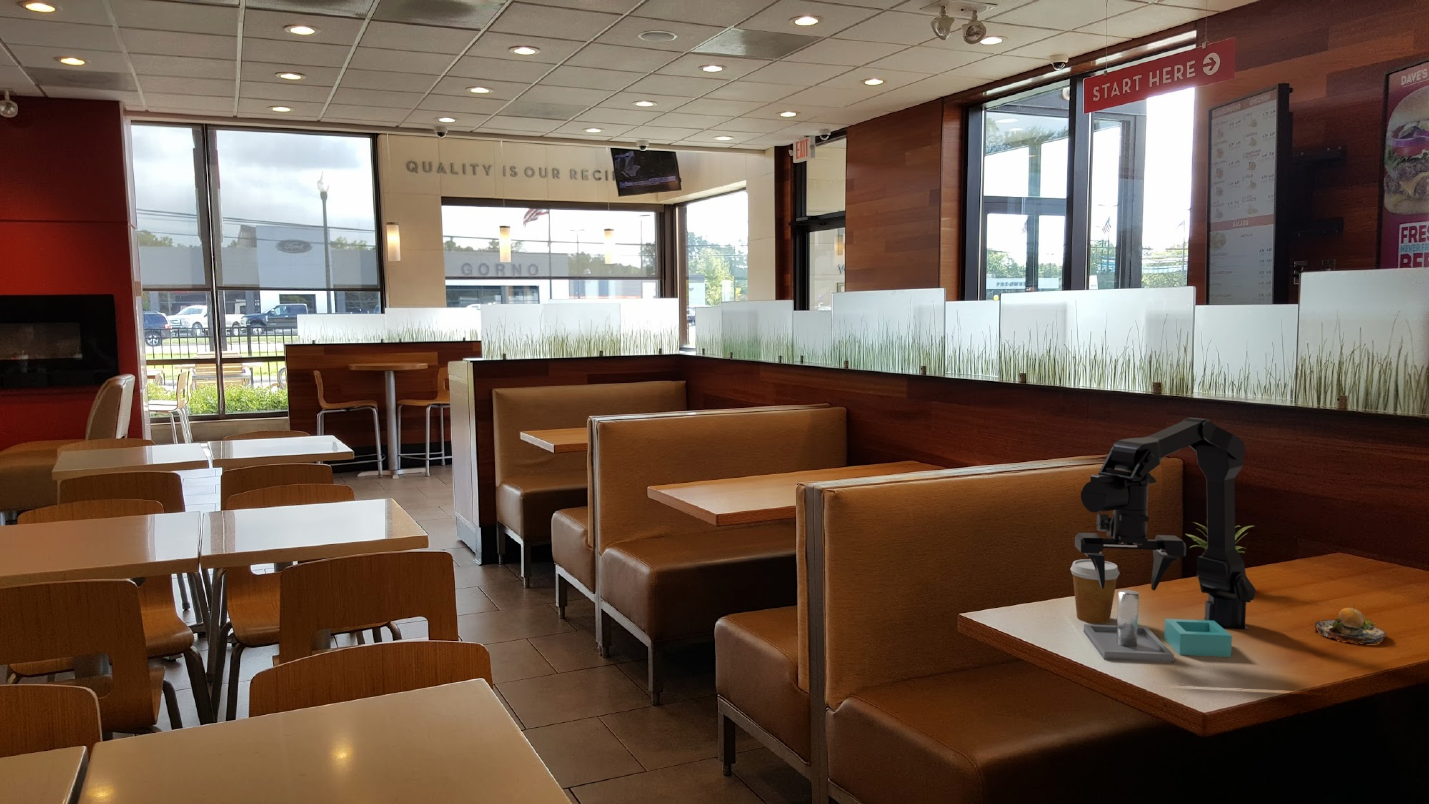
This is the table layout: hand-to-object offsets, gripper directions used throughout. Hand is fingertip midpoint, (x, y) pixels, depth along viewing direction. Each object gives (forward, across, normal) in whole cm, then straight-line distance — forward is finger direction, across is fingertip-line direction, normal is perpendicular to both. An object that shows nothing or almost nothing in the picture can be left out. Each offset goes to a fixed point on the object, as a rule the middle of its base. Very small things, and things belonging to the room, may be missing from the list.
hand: (1127, 589), depth 184 cm
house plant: (+12, -34, -47) cm, 59 cm away
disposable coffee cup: (+12, +2, -17) cm, 21 cm away
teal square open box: (+12, -13, -1) cm, 18 cm away
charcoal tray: (+12, 0, 0) cm, 12 cm away
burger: (+12, -46, -14) cm, 50 cm away
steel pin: (+11, 0, 0) cm, 11 cm away
